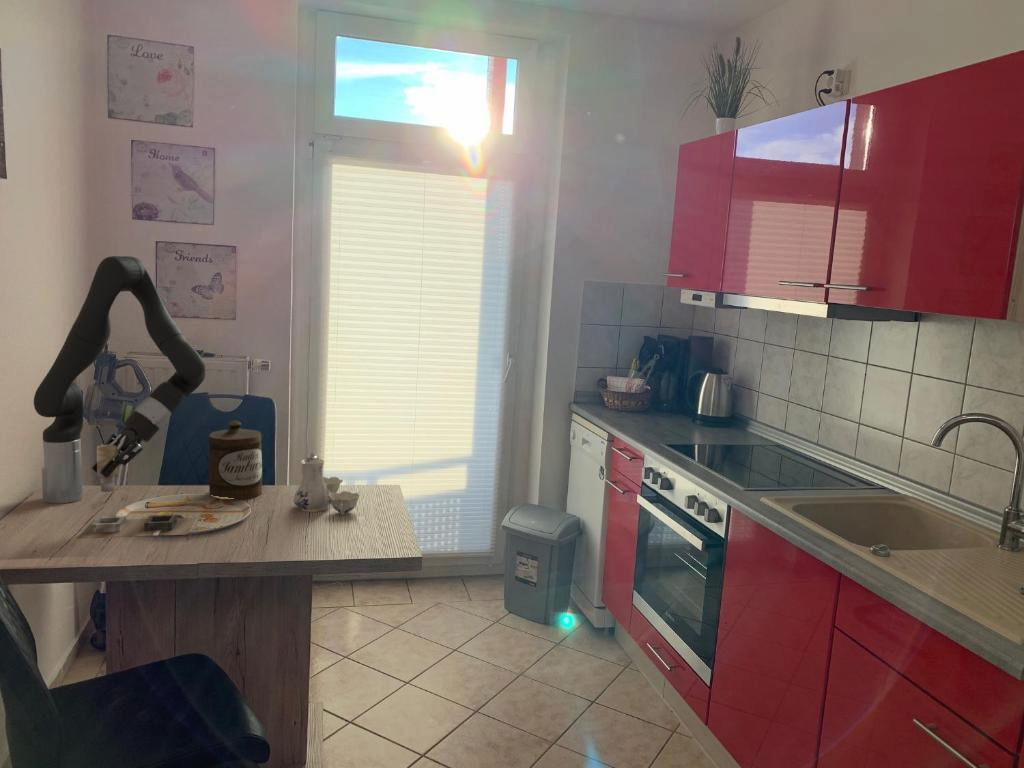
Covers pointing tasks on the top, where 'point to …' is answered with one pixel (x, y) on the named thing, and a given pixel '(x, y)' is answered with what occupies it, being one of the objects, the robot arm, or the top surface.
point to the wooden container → (235, 463)
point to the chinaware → (321, 490)
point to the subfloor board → (139, 526)
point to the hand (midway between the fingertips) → (99, 472)
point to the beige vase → (103, 458)
